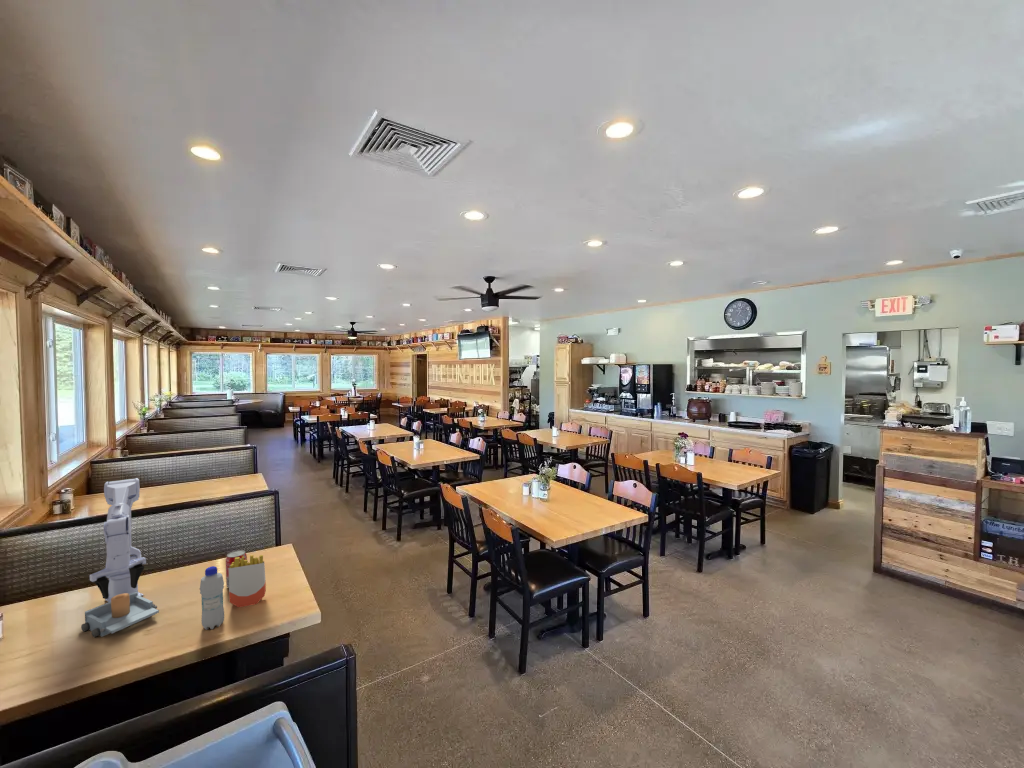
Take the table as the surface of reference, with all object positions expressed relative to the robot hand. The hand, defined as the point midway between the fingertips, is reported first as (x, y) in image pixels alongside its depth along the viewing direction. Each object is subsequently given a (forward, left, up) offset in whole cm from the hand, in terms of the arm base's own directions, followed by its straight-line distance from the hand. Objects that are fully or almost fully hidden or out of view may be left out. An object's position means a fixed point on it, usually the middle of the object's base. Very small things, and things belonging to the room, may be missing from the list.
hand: (120, 592), depth 147 cm
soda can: (+12, +32, -10) cm, 36 cm away
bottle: (+31, +12, -10) cm, 35 cm away
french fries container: (+28, +26, -10) cm, 40 cm away
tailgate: (+6, 0, -7) cm, 10 cm away
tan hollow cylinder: (0, 0, -7) cm, 7 cm away
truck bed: (0, 0, -10) cm, 10 cm away
